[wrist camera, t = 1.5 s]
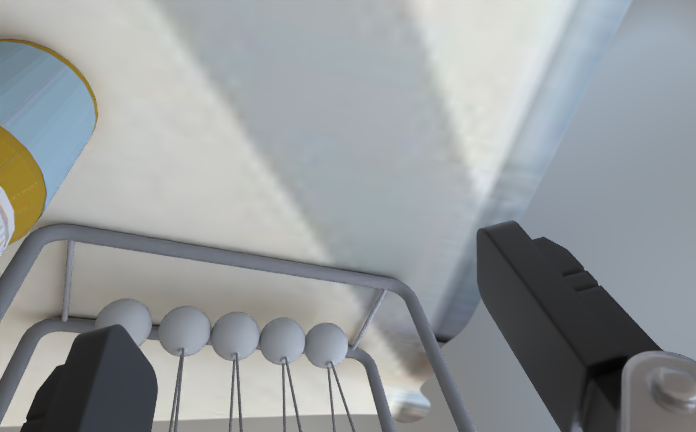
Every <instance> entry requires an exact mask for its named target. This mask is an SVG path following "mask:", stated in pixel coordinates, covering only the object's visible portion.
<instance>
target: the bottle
mask: <svg viewBox="0 0 696 432" xmlns="http://www.w3.org/2000/svg"><path fill="white" fill-rule="evenodd" d="M97 117H98V112H97V104H96V99H95V96H94V94H93V92H92V90H91V88H90V85H89V83H88V82H87V80H86V79H85V78H84V76H83V75H82V74H81V73H80V72H79V71H78V70H77V69H76V67H75V66H74V65H73V64H71V63H70V62H69V61H68V60H66V59H65V58H63V57H62V56H60V55H59V54H57V53H56V52H54V51H52V50H51V49H48V48H46V47H43V46H41V45H38V44H35V43H33V42H29V41H22V40H14V39H3V40H0V256H1V254H2V253H3V251H4V250H5V248H6V247H7V246H8V245H9V244H11V243H13V242H15V241H17V240H18V239H20V238H22V237H23V236H25V235H26V234H27V233H28V231H29V230H30V229H31V228H32V226H33V225H34V224H35V223H36V221H37V220H38V219H39V218H40V216H41V215H42V213H43V212H44V210H45V209H46V207H47V205H48V204H49V202H50V201H51V199H52V198H53V196H54V194H55V193H56V191H57V190H58V188H59V186H60V185H61V183H62V182H63V180H64V179H65V177H66V175H67V174H68V172H69V171H70V169H71V167H72V166H73V164H74V163H75V161H76V160H77V158H78V156H79V155H80V153H81V152H82V150H83V148H84V147H85V145H86V144H87V142H88V141H89V139H90V137H91V135H92V133H93V131H94V129H95V125H96V121H97Z"/></svg>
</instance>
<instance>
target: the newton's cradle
mask: <svg viewBox="0 0 696 432" xmlns="http://www.w3.org/2000/svg"><path fill="white" fill-rule="evenodd" d="M58 240H68V248H67V261H66V273H65V285H64V297H63V309H62V317H54V318H49V319H45V320H43V321H40V322H38V323H36V324H34V325H33V326H32V327H30V328H29V329H28V330H27V331H26V332H25V334H24V335H23V336H22V338H21V340H20V342H19V344H18V346H17V348H16V350H15V352H14V354H13V356H12V358H11V360H10V362H9V364H8V366H7V368H6V370H5V372H4V374H3V376H2V378H1V380H0V424H1V422H2V420H3V417H4V415H5V413H6V411H7V409H8V407H9V404H10V402H11V400H12V398H13V396H14V393H15V391H16V389H17V387H18V385H19V382H20V380H21V378H22V376H23V374H24V371H25V369H26V367H27V365H28V363H29V360H30V358H31V356H32V354H33V352H34V350H35V347H36V345H37V343H38V341H39V340H40V338H41V337H43V336H44V335H46V334H48V333H51V332H56V331H64V332H75V333H85V332H89V331H92V330H96V329H100V328H104V327H107V326H111V325H115V324H120V325H122V326H123V327H124V328H125V329H126V330H127V332H128V333H129V335H130V336H131V337H132V339H133V340H134V342H135V343H136V344H137V346H140V345H141V344H142V343H143V342H144V341H145V340H146V339H150V340H160V343H161V345H162V346H163V348H164V349H165V350H166V351H167V352H168V353H170V354H172V355H175V356H180V361H179V368H178V374H177V381H176V388H175V394H174V401H173V408H172V414H171V421H170V428H169V432H171V431H172V424H173V418H174V411H175V404H176V397H177V405H176V415H175V426H174V432H177V423H178V413H179V402H180V391H181V381H182V370H183V359H184V357H185V356H190V355H193V354H195V353H197V352H199V351H200V350H201V349H202V348H203V347H204V346H205V345H212V346H213V348H214V350H215V352H216V353H217V354H218V355H219V356H220V357H222V358H223V359H226V360H230V361H233V373H232V389H231V406H230V423H229V432H231V428H232V411H233V394H234V376H235V361H236V370H237V388H238V405H239V423H240V432H243V430H242V414H241V398H240V382H239V366H238V360H242V359H245V358H247V357H248V356H249V355H251V354H252V353H253V352H254V350H255V349H258V350H261V352H262V354H263V355H264V357H265V358H266V359H267V360H268V361H270V362H272V363H274V364H278V365H282V380H283V421H284V422H283V424H284V425H283V426H284V432H286V417H285V377H284V365H285V364H286V366H287V371H288V376H289V381H290V387H291V392H292V397H293V402H294V407H295V412H296V417H297V422H298V427H299V432H302V430H301V425H300V420H299V415H298V410H297V405H296V400H295V395H294V390H293V385H292V380H291V375H290V371H289V366H288V364H289V363H292V362H293V361H295V360H296V359H297V358H298V357H299V356H300V355H301V354H306V356H307V358H308V360H309V361H310V362H311V363H312V364H313V365H315V366H317V367H319V368H327V369H328V379H329V390H330V400H331V411H332V421H333V432H336V430H335V421H334V410H333V400H332V390H331V380H330V370H329V368H333V372H334V375H335V378H336V381H337V384H338V387H339V390H340V393H341V396H342V399H343V403H344V406H345V409H346V412H347V415H348V418H349V421H350V424H351V427H352V430H353V432H355V429H354V426H353V423H352V420H351V417H350V414H349V411H348V408H347V405H346V402H345V399H344V396H343V393H342V390H341V386H340V383H339V380H338V377H337V374H336V371H335V368H334V367H335V366H337V365H338V364H340V363H341V362H342V361H343V359H344V358H353V359H356V360H358V361H359V362H361V363H362V364H363V366H364V367H365V369H366V372H367V376H368V380H369V383H370V387H371V391H372V394H373V398H374V402H375V406H376V409H377V413H378V417H379V420H380V424H381V428H382V431H383V432H396V430H395V427H394V423H393V420H392V417H391V413H390V410H389V406H388V403H387V400H386V396H385V393H384V389H383V386H382V383H381V379H380V376H379V372H378V369H377V366H376V364H375V362H374V360H373V359H372V357H371V356H370V355H369V354H368V353H366V352H365V351H363V350H361V349H359V348H356V347H357V345H358V343H359V341H360V340H361V338H362V336H363V334H364V332H365V331H366V329H367V327H368V325H369V323H370V322H371V320H372V318H373V316H374V314H375V312H376V311H377V309H378V307H379V305H380V303H381V302H382V300H383V298H384V296H385V294H386V292H387V291H388V290H389V291H392V292H394V293H396V294H398V295H399V296H401V297H402V298H403V299H404V301H405V302H406V305H407V307H408V309H409V312H410V314H411V317H412V319H413V322H414V324H415V326H416V329H417V331H418V334H419V336H420V338H421V341H422V343H423V346H424V348H425V351H426V353H427V355H428V358H429V360H430V363H431V365H432V368H433V370H434V372H435V375H436V377H437V380H438V382H439V385H440V387H441V389H442V392H443V394H444V397H445V399H446V401H447V404H448V406H449V409H450V411H451V414H452V416H453V418H454V421H455V423H456V426H457V428H458V430H459V432H477V430H476V428H475V426H474V423H473V421H472V419H471V417H470V414H469V412H468V410H467V408H466V405H465V403H464V401H463V399H462V397H461V394H460V392H459V390H458V388H457V385H456V383H455V381H454V379H453V377H452V374H451V372H450V370H449V368H448V365H447V363H446V361H445V358H444V356H443V354H442V352H441V349H440V347H439V345H438V343H437V341H436V338H435V336H434V334H433V332H432V329H431V327H430V325H429V323H428V320H427V318H426V316H425V314H424V311H423V309H422V307H421V305H420V303H419V300H418V298H417V296H416V295H415V293H414V292H413V291H412V290H411V289H410V288H409V287H408V286H407V285H405V284H404V283H402V282H400V281H398V280H396V279H392V278H387V277H381V276H376V275H370V274H364V273H358V272H352V271H346V270H340V269H334V268H328V267H322V266H316V265H310V264H304V263H298V262H292V261H286V260H280V259H274V258H268V257H262V256H256V255H250V254H244V253H238V252H232V251H226V250H220V249H214V248H208V247H202V246H196V245H190V244H184V243H179V242H173V241H167V240H161V239H155V238H149V237H143V236H137V235H131V234H125V233H119V232H113V231H107V230H101V229H95V228H89V227H83V226H77V225H68V224H57V225H50V226H46V227H42V228H39V229H38V230H36V231H34V232H32V233H31V234H30V235H29V236H28V237H27V238H26V239H25V240H24V241H23V243H22V244H21V246H20V247H19V249H18V251H17V252H16V254H15V255H14V257H13V258H12V260H11V262H10V263H9V265H8V266H7V268H6V269H5V271H4V273H3V274H2V276H1V277H0V321H1V320H2V318H3V316H4V314H5V313H6V311H7V309H8V307H9V306H10V304H11V302H12V300H13V298H14V297H15V295H16V293H17V291H18V290H19V288H20V286H21V284H22V283H23V281H24V279H25V277H26V276H27V274H28V272H29V270H30V269H31V267H32V265H33V263H34V261H35V260H36V258H37V256H38V254H39V253H40V251H41V249H42V247H43V246H44V245H46V244H47V243H50V242H53V241H58ZM75 241H76V242H82V243H89V244H95V245H102V246H108V247H114V248H121V249H127V250H134V251H140V252H146V253H153V254H159V255H166V256H172V257H178V258H185V259H191V260H198V261H204V262H210V263H217V264H223V265H230V266H236V267H243V268H249V269H255V270H262V271H268V272H275V273H281V274H287V275H294V276H300V277H307V278H313V279H319V280H326V281H332V282H339V283H345V284H351V285H358V286H364V287H371V288H377V289H383V291H382V293H381V294H380V296H379V298H378V300H377V302H376V304H375V305H374V307H373V309H372V311H371V313H370V315H369V316H368V318H367V320H366V322H365V324H364V326H363V328H362V329H361V331H360V333H359V335H358V337H357V339H356V340H355V342H354V344H353V346H348V341H347V337H346V335H345V333H344V332H343V330H342V329H341V328H340V327H338V326H337V325H334V324H332V323H321V324H318V325H316V326H314V327H313V328H312V329H311V330H310V331H309V332H308V334H307V336H306V338H305V334H304V331H303V329H302V327H301V326H300V325H299V324H298V323H297V322H296V321H294V320H292V319H290V318H277V319H274V320H272V321H270V322H269V323H268V324H267V325H266V326H265V327H264V328H263V330H262V332H261V335H260V332H259V327H258V325H257V323H256V321H255V320H254V319H253V318H252V317H251V316H249V315H247V314H245V313H242V312H232V313H228V314H226V315H224V316H222V317H221V318H220V319H219V320H218V321H217V322H216V323H215V325H214V327H213V329H212V332H211V326H210V322H209V319H208V317H207V316H206V315H205V313H204V312H203V311H201V310H200V309H198V308H196V307H192V306H181V307H178V308H175V309H173V310H171V311H170V312H169V313H168V314H167V315H165V317H164V318H163V320H162V321H161V324H160V326H159V327H157V326H152V317H151V313H150V311H149V310H148V308H147V307H146V306H145V305H144V304H142V303H141V302H139V301H137V300H134V299H120V300H116V301H114V302H111V303H110V304H108V305H107V306H106V307H104V308H103V309H102V311H101V312H100V313H99V315H98V317H97V319H96V320H89V319H80V318H70V317H68V308H69V297H70V286H71V275H72V264H73V253H74V242H75ZM178 384H179V385H178ZM177 390H178V395H177Z"/></svg>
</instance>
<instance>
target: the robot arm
mask: <svg viewBox="0 0 696 432" xmlns="http://www.w3.org/2000/svg"><path fill="white" fill-rule="evenodd" d="M477 283H478V288H479V291H480V295H481V297H482V300H483V302H484V304H485V306H486V308H487V309H488V311H489V313H490V314H491V316H492V318H493V319H494V321H495V323H496V324H497V326H498V328H499V329H500V331H501V333H502V334H503V336H504V338H505V339H506V341H507V342H508V344H509V346H510V348H511V349H512V351H513V352H514V354H515V356H516V358H517V359H518V361H519V363H520V364H521V366H522V367H523V369H524V371H525V372H526V374H527V376H528V377H529V379H530V381H531V382H532V384H533V386H534V387H535V389H536V391H537V392H538V394H539V396H540V397H541V399H542V401H543V402H544V404H545V406H546V407H547V409H548V410H549V412H550V414H551V416H552V417H553V419H554V420H555V422H556V424H557V425H558V427H559V429H560V430H561V432H696V361H695V360H693V359H691V358H688V357H686V356H683V355H680V354H676V353H673V352H666V351H663V350H662V349H661V348H660V347H659V346H658V345H656V343H655V342H654V341H653V340H652V339H651V338H650V337H649V336H648V335H647V334H646V333H645V332H644V331H643V330H642V329H641V328H640V327H639V325H638V324H637V323H636V322H635V321H634V320H633V319H632V318H631V317H630V316H629V315H628V314H627V313H626V312H625V311H624V310H623V308H622V307H621V306H620V305H619V304H618V303H617V302H616V301H615V300H614V299H613V298H612V297H611V296H610V295H609V293H608V292H607V291H606V290H604V288H603V287H602V286H599V285H598V283H597V281H596V280H595V279H594V278H593V276H592V275H591V274H590V273H589V272H588V271H585V270H584V267H583V266H582V265H581V264H580V263H579V262H578V260H577V259H576V258H575V257H574V256H573V255H572V254H571V253H570V252H569V251H568V250H567V249H565V248H563V247H562V246H560V245H558V244H556V243H554V242H552V241H551V240H548V239H547V238H545V237H541V238H537V239H534V240H532V239H531V238H530V237H529V236H528V235H527V234H526V232H525V231H524V230H523V229H522V228H521V227H520V225H519V224H518V223H517V222H515V221H513V220H511V221H507V222H503V223H500V224H496V225H492V226H488V227H485V228H481V229H479V230H478V231H477ZM157 393H158V385H157V378H156V374H155V371H154V369H153V367H152V365H151V364H150V362H149V361H148V360H147V358H146V357H145V356H144V354H143V353H142V351H141V350H140V349H139V347H138V346H137V344H136V343H135V342H134V340H133V339H132V337H131V336H130V335H129V333H128V332H127V330H126V329H125V328H124V327H123V326H122V325H120V324H115V325H111V326H107V327H104V328H100V329H96V330H92V331H89V332H85V333H81V334H79V335H78V336H77V337H76V338H75V340H74V342H73V344H72V347H71V350H70V352H69V355H68V357H67V360H66V362H65V364H64V365H60V366H57V367H56V368H55V369H54V371H53V372H52V373H51V374H50V376H49V377H48V378H47V380H46V381H45V382H44V383H43V385H42V386H41V387H40V388H39V390H38V391H37V393H36V395H35V398H34V400H33V402H32V405H31V407H30V409H29V412H28V414H27V417H26V419H27V422H26V423H24V424H23V426H22V428H21V431H20V432H151V429H152V423H153V417H154V412H155V406H156V400H157Z"/></svg>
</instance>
